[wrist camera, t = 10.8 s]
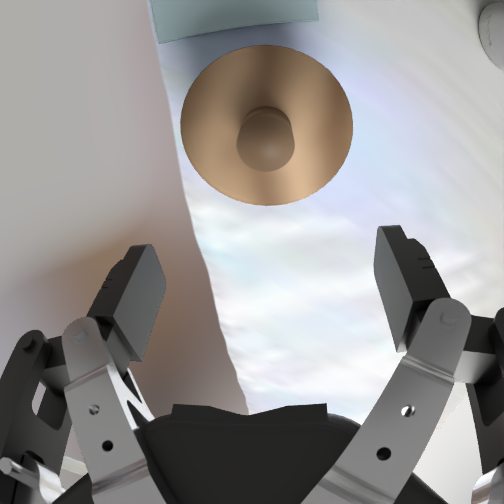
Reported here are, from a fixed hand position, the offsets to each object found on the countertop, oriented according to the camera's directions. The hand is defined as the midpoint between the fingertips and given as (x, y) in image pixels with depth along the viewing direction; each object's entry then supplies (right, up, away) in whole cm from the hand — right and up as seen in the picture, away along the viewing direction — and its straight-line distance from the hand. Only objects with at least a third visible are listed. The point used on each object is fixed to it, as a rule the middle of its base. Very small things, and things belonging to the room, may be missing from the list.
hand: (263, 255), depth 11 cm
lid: (+1, +10, +14) cm, 17 cm away
